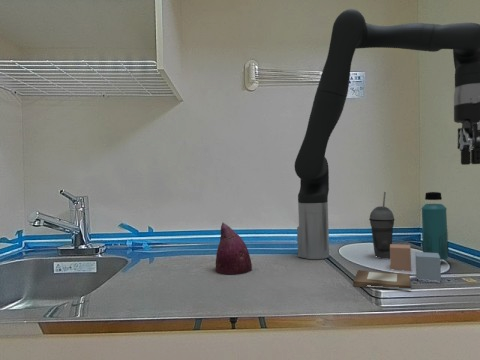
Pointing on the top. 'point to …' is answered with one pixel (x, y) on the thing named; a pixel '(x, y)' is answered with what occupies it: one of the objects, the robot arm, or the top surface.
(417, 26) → the robot arm
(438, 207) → the beverage bottle
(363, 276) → the board
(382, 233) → the beverage cup
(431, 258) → the slate block
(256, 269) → the top surface
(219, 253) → the vegetable
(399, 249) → the terracotta block
